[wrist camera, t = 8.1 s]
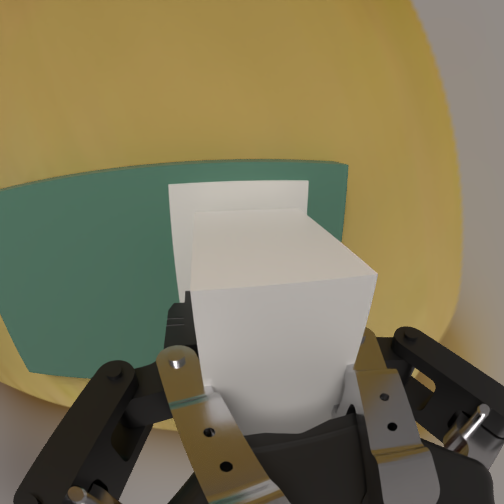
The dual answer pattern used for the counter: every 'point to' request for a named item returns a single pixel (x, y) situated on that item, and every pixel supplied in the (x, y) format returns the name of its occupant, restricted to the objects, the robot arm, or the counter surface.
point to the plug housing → (276, 315)
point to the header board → (129, 250)
